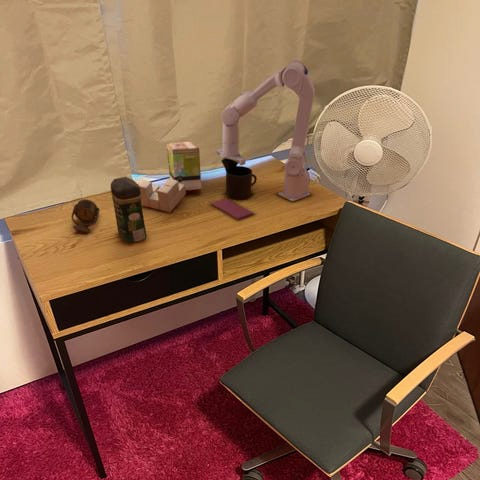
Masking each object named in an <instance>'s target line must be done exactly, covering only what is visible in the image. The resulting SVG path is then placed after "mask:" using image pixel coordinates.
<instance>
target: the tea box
mask: <svg viewBox="0 0 480 480" xmlns="http://www.w3.org/2000/svg"><path fill="white" fill-rule="evenodd" d="M169 143H170V144H167V143H166V152H167V151H168V153H167V164H168V163H169V165H168V172H169V179H172V180H176V181H178V183H179V184H183V185H185V191H193V190H201V189H202V173H201V172H202V171H201V155H200V154H201V153H200V147H199V146H198V145H197V144H196V143H194V141H193V142H192V141H181V142H180V141H179V142H169Z"/></svg>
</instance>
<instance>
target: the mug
mask: <svg viewBox="0 0 480 480" xmlns="http://www.w3.org/2000/svg"><path fill="white" fill-rule="evenodd" d="M253 179H254V180H253ZM256 183H257V175H256V174H254V173H253V170H252V169H251V168H249V167H247V166H244V165H237V166H233V167H230V168H228V169H227V170H225V195H226V196H227V198H229V199H231V200H236V201H237V200H239V201H241V200H246V199H249V198H250V197H251V196H252V187H253V186H254V185H255V184H256Z"/></svg>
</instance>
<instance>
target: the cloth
mask: <svg viewBox="0 0 480 480" xmlns="http://www.w3.org/2000/svg"><path fill="white" fill-rule="evenodd" d="M210 206H212V207H214V208H216V209H217V210H219V211H221V212H222V213H224V214H226V215H228V216H230V217H232V218H233V219H234V220H237V221H241V220H243V219H245V218H249V217H251V216H254V215H255V214H254V212H252V211H250V210H249V209H247V208H244V207H243V206H241V205H240V204H237V203H236V202H233V201H231V200H230V199H228V198H224V199H221V200H218V201H215V202H213V203H211V204H210Z"/></svg>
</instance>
